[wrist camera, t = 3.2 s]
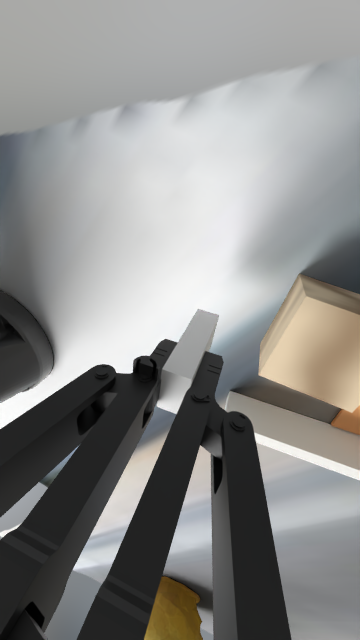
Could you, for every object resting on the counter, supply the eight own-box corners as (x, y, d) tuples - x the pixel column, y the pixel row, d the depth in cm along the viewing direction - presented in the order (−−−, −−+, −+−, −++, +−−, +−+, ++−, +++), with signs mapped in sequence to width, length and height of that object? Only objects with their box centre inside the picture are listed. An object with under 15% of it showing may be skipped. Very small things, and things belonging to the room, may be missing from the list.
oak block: (260, 342, 23) (258, 374, 19) (298, 272, 19) (305, 296, 15) (337, 372, 22) (351, 412, 18) (394, 305, 18) (427, 339, 14)
